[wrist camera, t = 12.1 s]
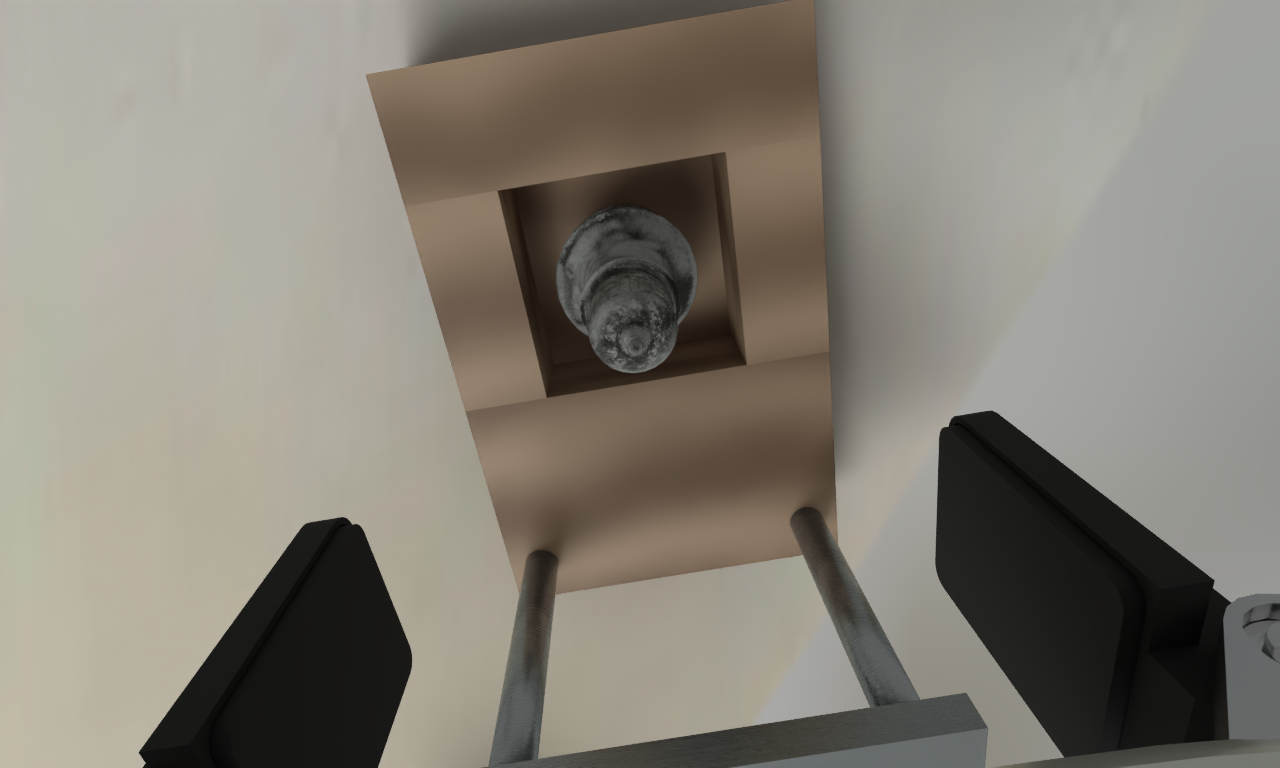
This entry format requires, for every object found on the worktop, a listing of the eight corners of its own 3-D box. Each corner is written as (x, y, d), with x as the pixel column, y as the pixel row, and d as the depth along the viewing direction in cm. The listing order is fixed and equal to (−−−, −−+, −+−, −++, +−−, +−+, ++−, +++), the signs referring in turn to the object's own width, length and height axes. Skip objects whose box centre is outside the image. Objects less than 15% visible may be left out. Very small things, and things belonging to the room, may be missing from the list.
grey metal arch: (501, 534, 31) (433, 813, 18) (835, 481, 30) (988, 728, 18) (521, 599, 32) (469, 895, 20) (838, 549, 32) (980, 818, 20)
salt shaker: (544, 216, 29) (506, 281, 18) (671, 181, 28) (713, 225, 17) (581, 336, 31) (568, 460, 20) (700, 304, 31) (752, 413, 20)
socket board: (406, 81, 27) (365, 74, 23) (778, 15, 27) (813, -4, 22) (532, 538, 37) (521, 599, 32) (809, 494, 36) (838, 549, 32)
